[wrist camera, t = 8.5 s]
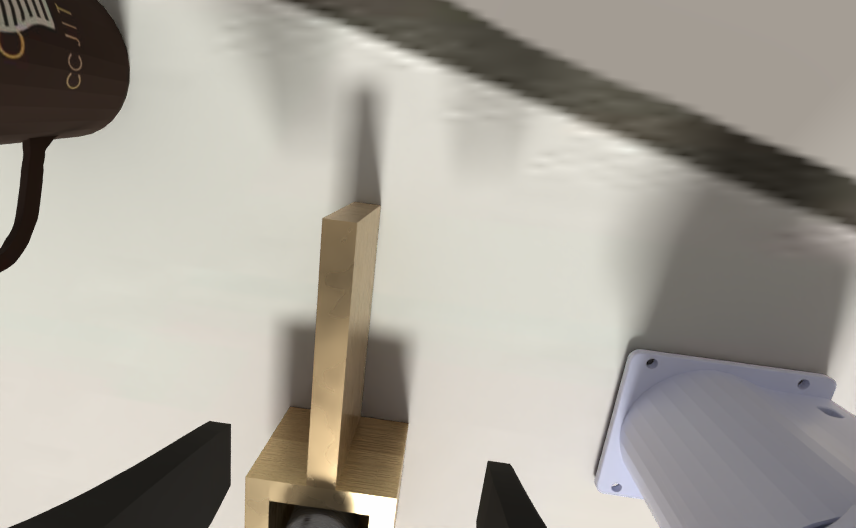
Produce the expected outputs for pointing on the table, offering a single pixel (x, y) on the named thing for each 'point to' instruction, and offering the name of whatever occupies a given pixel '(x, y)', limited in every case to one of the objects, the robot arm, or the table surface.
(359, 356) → the tan wooden bar
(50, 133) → the coffee mug
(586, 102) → the table surface
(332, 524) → the pin
